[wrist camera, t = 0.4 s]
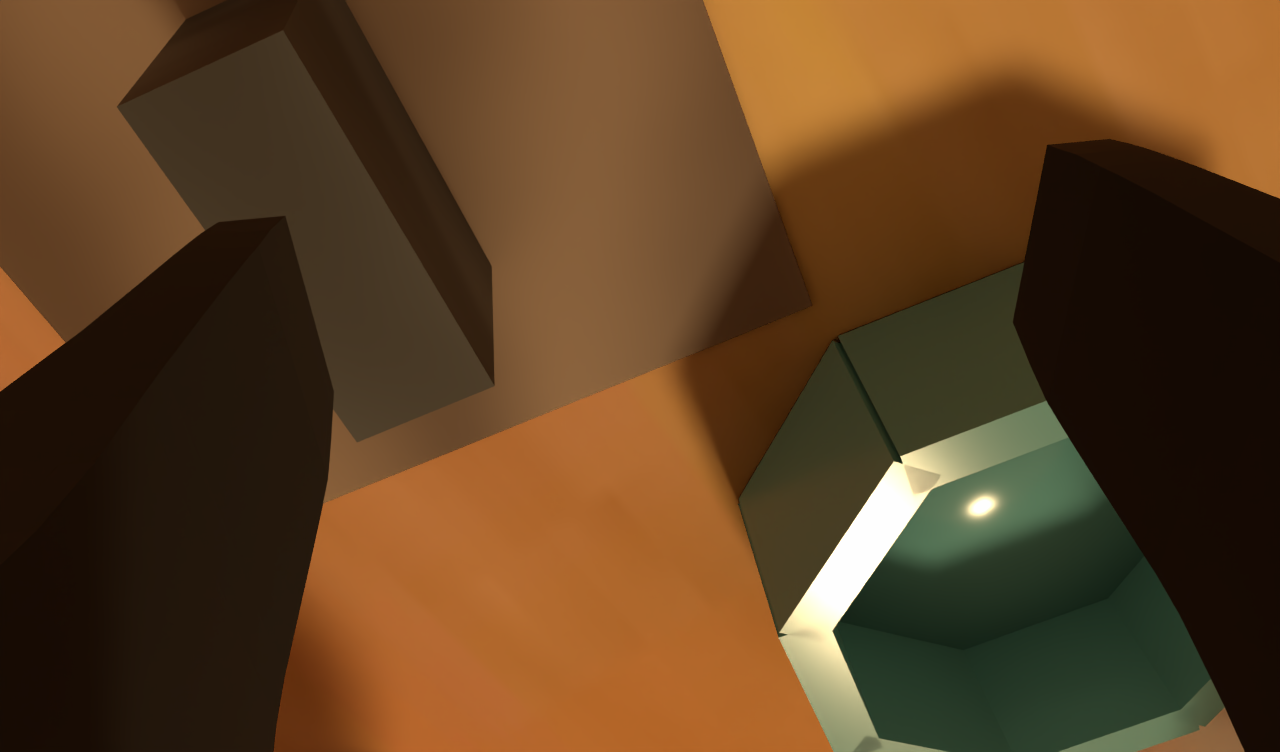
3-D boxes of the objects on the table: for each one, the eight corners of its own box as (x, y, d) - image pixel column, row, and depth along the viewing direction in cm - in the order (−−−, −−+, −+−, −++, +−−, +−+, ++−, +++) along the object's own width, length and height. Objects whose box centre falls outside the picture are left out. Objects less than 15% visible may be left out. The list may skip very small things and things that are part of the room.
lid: (241, 513, 24) (194, 688, 20) (-247, -67, 17) (-476, 21, 13) (802, 286, 22) (872, 424, 18) (533, -458, 15) (553, -498, 11)
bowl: (830, 703, 29) (876, 840, 25) (688, 395, 23) (724, 523, 19) (1241, 556, 28) (1345, 680, 24) (1207, 189, 21) (1340, 288, 18)
